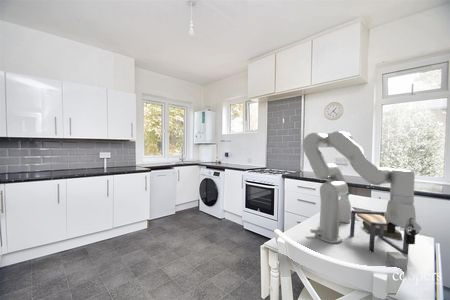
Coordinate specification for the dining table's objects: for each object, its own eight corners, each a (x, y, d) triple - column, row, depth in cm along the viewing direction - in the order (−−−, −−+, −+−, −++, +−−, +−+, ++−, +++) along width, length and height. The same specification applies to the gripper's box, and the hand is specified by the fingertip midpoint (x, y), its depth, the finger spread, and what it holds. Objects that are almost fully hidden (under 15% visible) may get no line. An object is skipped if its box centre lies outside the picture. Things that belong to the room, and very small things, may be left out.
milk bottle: (351, 224, 129) (353, 194, 128) (337, 222, 132) (339, 192, 131) (348, 219, 136) (350, 191, 135) (336, 218, 139) (337, 190, 138)
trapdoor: (372, 225, 97) (373, 219, 97) (356, 215, 110) (357, 210, 110) (406, 227, 97) (406, 221, 97) (386, 217, 110) (386, 212, 110)
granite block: (394, 269, 83) (395, 258, 83) (385, 262, 88) (386, 251, 88) (407, 270, 83) (407, 258, 83) (397, 263, 88) (398, 252, 88)
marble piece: (402, 240, 110) (403, 233, 110) (372, 236, 113) (373, 229, 113) (385, 227, 126) (386, 221, 126) (359, 224, 129) (360, 218, 129)
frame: (370, 252, 96) (372, 223, 95) (350, 235, 113) (351, 210, 113) (408, 254, 95) (410, 224, 94) (381, 236, 112) (383, 211, 112)
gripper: (377, 193, 93) (376, 229, 93) (410, 204, 76) (408, 248, 76) (394, 193, 92) (392, 229, 93) (430, 204, 75) (429, 249, 76)
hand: (400, 238), depth 84 cm, fingers open, 9 cm apart
